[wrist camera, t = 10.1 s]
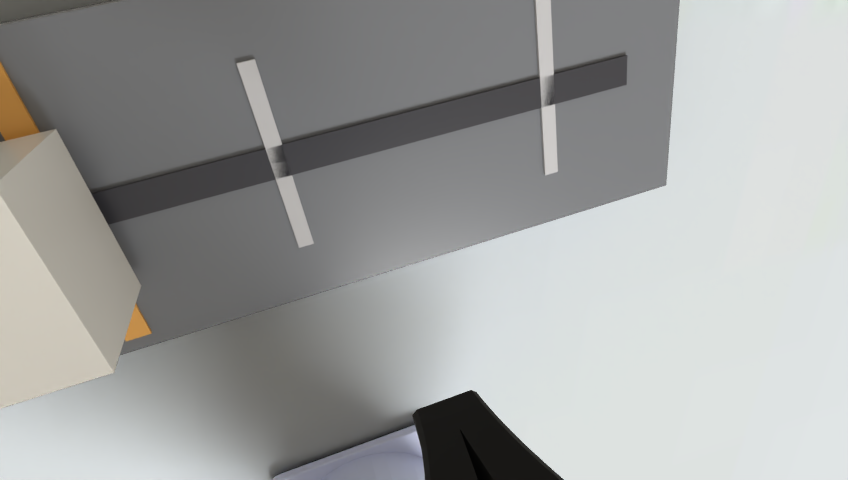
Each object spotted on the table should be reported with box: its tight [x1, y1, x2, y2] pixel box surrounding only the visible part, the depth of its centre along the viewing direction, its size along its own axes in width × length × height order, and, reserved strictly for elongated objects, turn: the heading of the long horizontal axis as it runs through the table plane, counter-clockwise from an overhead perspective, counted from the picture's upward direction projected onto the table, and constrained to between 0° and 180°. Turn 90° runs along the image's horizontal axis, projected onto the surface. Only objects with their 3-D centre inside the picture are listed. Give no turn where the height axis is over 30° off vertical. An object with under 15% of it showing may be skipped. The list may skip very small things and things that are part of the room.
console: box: [0, 0, 680, 355], centre depth 17 cm, size 10×28×2 cm, turn 99°
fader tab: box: [0, 129, 141, 409], centre depth 13 cm, size 5×3×4 cm, turn 9°
